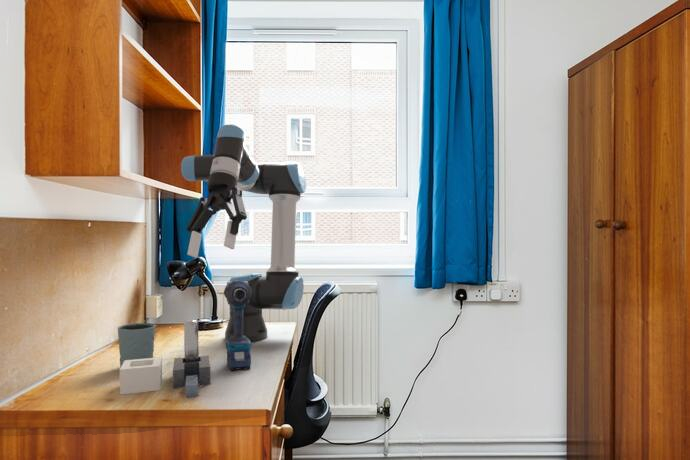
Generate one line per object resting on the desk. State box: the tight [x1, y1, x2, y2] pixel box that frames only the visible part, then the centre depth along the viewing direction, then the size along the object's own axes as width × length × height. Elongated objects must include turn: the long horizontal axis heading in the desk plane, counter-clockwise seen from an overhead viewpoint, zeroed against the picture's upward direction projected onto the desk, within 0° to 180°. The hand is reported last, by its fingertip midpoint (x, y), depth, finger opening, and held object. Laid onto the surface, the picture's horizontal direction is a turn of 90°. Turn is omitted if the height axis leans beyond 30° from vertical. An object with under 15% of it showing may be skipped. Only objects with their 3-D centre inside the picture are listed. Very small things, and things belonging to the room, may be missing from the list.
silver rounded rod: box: [183, 319, 200, 363], centre depth 131 cm, size 4×4×15 cm
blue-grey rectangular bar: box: [185, 375, 199, 398], centre depth 119 cm, size 8×3×3 cm, turn 17°
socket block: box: [172, 355, 212, 389], centre depth 128 cm, size 12×9×4 cm
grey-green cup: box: [117, 322, 156, 369], centre depth 141 cm, size 10×10×12 cm
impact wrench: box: [223, 280, 252, 371], centre depth 139 cm, size 8×23×25 cm, turn 15°
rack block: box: [119, 356, 163, 395], centre depth 123 cm, size 9×9×6 cm
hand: (210, 251), depth 122 cm, fingers open, 13 cm apart
